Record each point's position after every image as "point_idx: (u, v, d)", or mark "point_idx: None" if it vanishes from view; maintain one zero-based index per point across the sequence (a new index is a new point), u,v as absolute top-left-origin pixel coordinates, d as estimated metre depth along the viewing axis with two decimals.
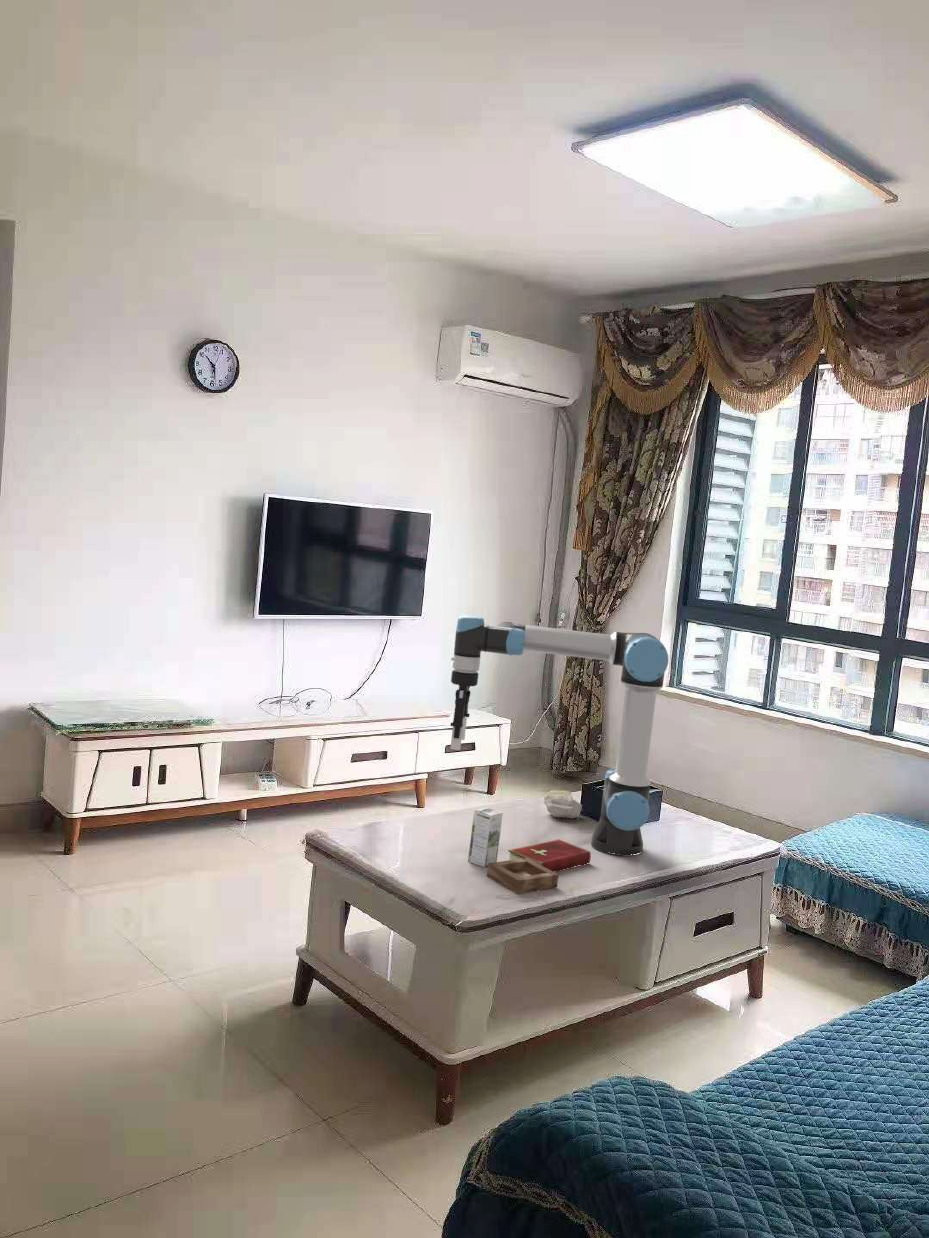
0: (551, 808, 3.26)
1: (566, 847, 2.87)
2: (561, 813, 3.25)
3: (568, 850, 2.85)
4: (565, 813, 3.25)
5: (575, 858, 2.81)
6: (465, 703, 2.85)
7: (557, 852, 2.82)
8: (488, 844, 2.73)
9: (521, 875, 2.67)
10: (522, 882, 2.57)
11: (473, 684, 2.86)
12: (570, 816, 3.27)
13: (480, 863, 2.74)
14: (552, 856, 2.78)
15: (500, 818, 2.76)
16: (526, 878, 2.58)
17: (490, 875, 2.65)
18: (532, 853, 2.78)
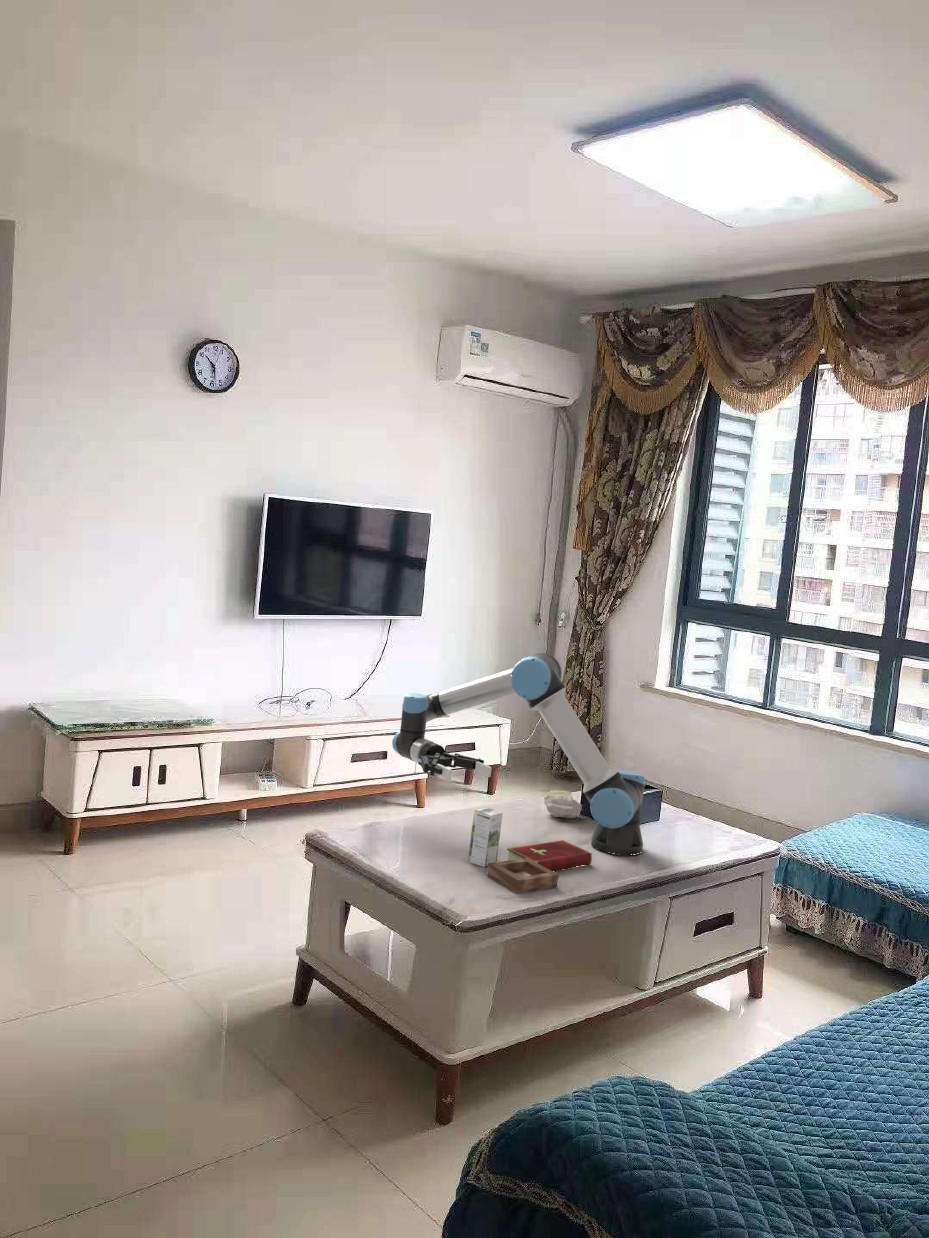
0: (551, 808, 3.26)
1: (567, 848, 2.86)
2: (561, 813, 3.25)
3: (568, 850, 2.84)
4: (565, 813, 3.25)
5: (574, 859, 2.80)
6: (433, 758, 2.90)
7: (557, 852, 2.82)
8: (488, 844, 2.73)
9: (521, 875, 2.67)
10: (522, 882, 2.57)
11: (428, 747, 2.96)
12: (570, 816, 3.27)
13: (480, 863, 2.74)
14: (550, 856, 2.78)
15: (500, 818, 2.76)
16: (526, 878, 2.58)
17: (490, 875, 2.65)
18: (531, 852, 2.79)
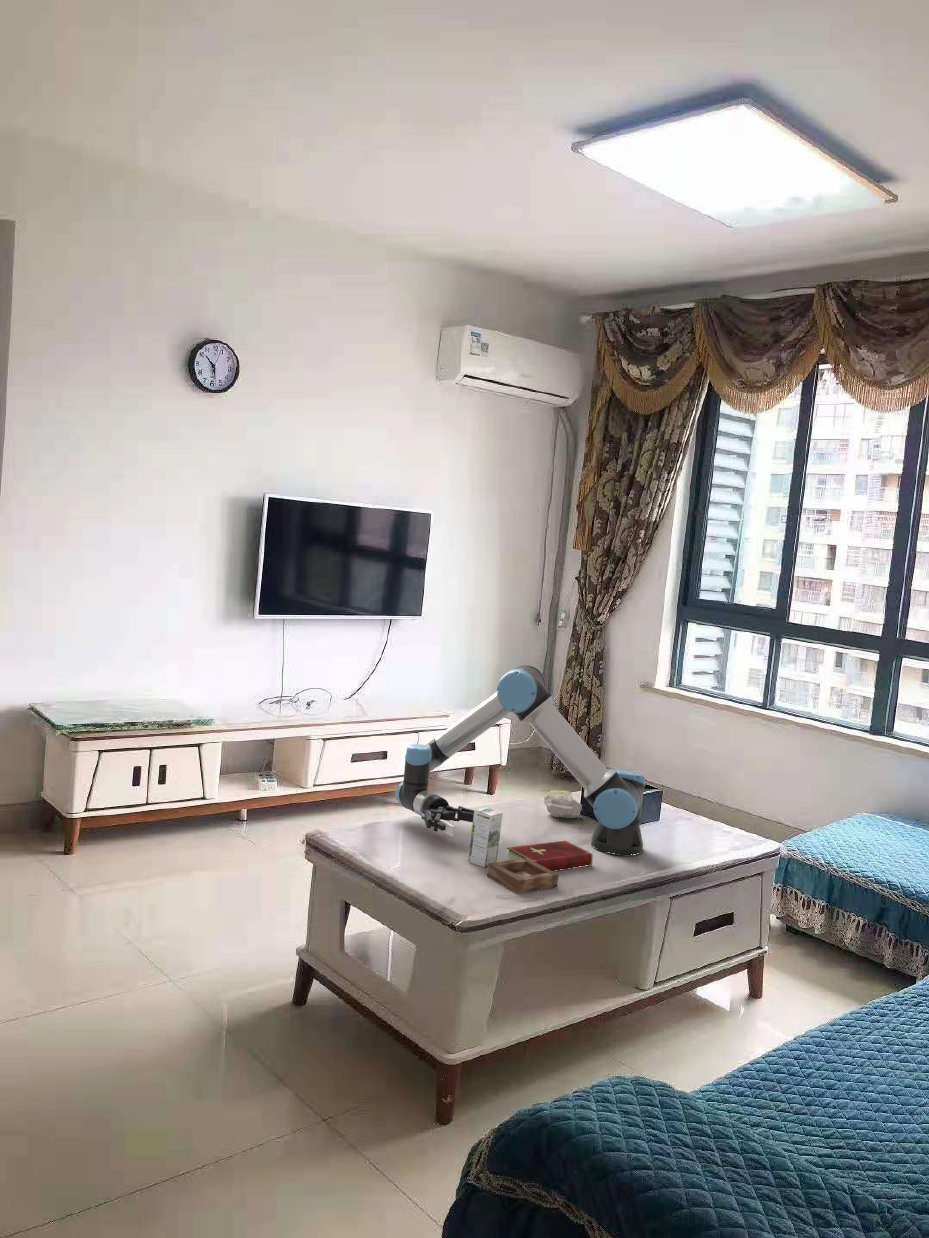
0: (551, 808, 3.26)
1: (568, 848, 2.86)
2: (561, 813, 3.25)
3: (569, 851, 2.84)
4: (565, 813, 3.25)
5: (574, 859, 2.80)
6: (437, 812, 2.88)
7: (556, 852, 2.82)
8: (488, 844, 2.73)
9: (521, 875, 2.67)
10: (522, 882, 2.57)
11: (432, 801, 2.93)
12: (570, 816, 3.27)
13: (480, 863, 2.74)
14: (549, 855, 2.78)
15: (500, 818, 2.76)
16: (526, 878, 2.58)
17: (490, 875, 2.65)
18: (530, 851, 2.80)
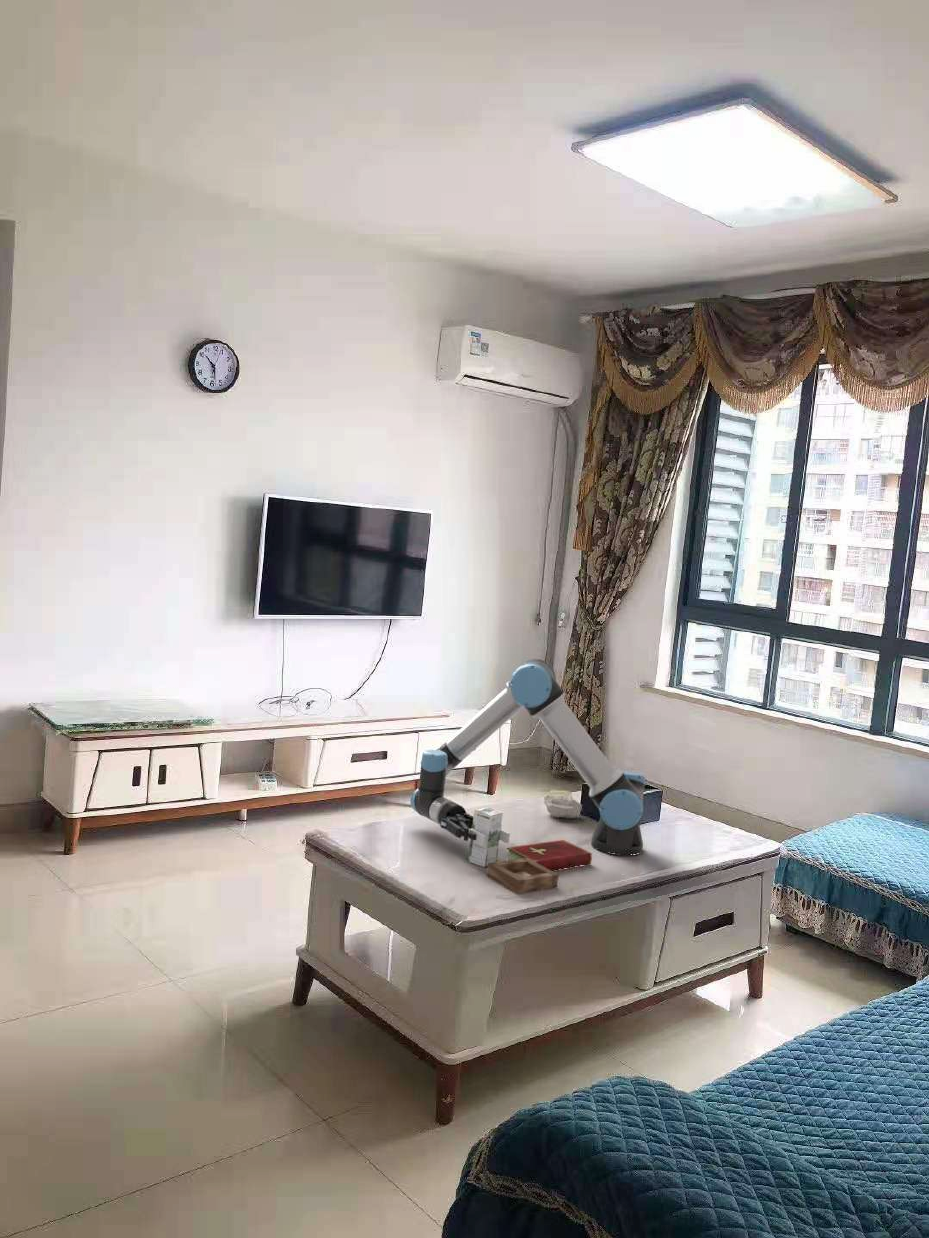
0: (551, 808, 3.26)
1: (567, 847, 2.87)
2: (561, 813, 3.25)
3: (568, 850, 2.84)
4: (565, 813, 3.25)
5: (574, 858, 2.81)
6: (458, 820, 2.81)
7: (556, 851, 2.82)
8: (488, 844, 2.73)
9: (521, 875, 2.67)
10: (522, 882, 2.57)
11: (449, 808, 2.86)
12: (570, 816, 3.27)
13: (480, 863, 2.74)
14: (549, 855, 2.78)
15: (500, 818, 2.76)
16: (526, 878, 2.58)
17: (490, 875, 2.65)
18: (530, 851, 2.80)
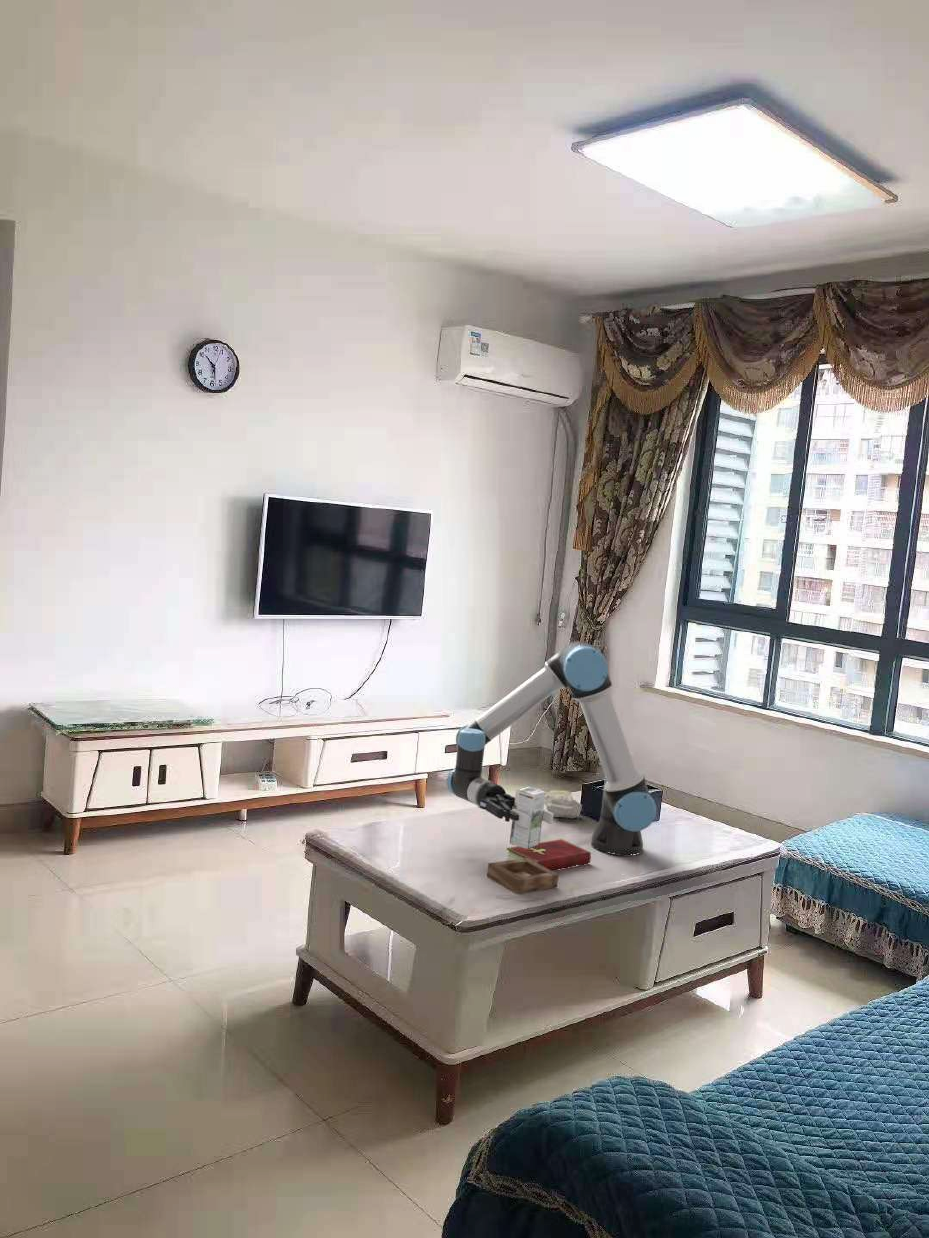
0: (551, 808, 3.26)
1: (566, 847, 2.87)
2: (561, 813, 3.25)
3: (567, 849, 2.85)
4: (565, 813, 3.25)
5: (574, 858, 2.81)
6: (499, 801, 2.69)
7: (556, 851, 2.82)
8: (531, 825, 2.61)
9: (521, 875, 2.67)
10: (522, 882, 2.57)
11: (488, 788, 2.74)
12: (570, 816, 3.27)
13: (522, 845, 2.62)
14: (550, 855, 2.78)
15: (543, 798, 2.63)
16: (526, 878, 2.58)
17: (490, 875, 2.65)
18: (530, 852, 2.80)
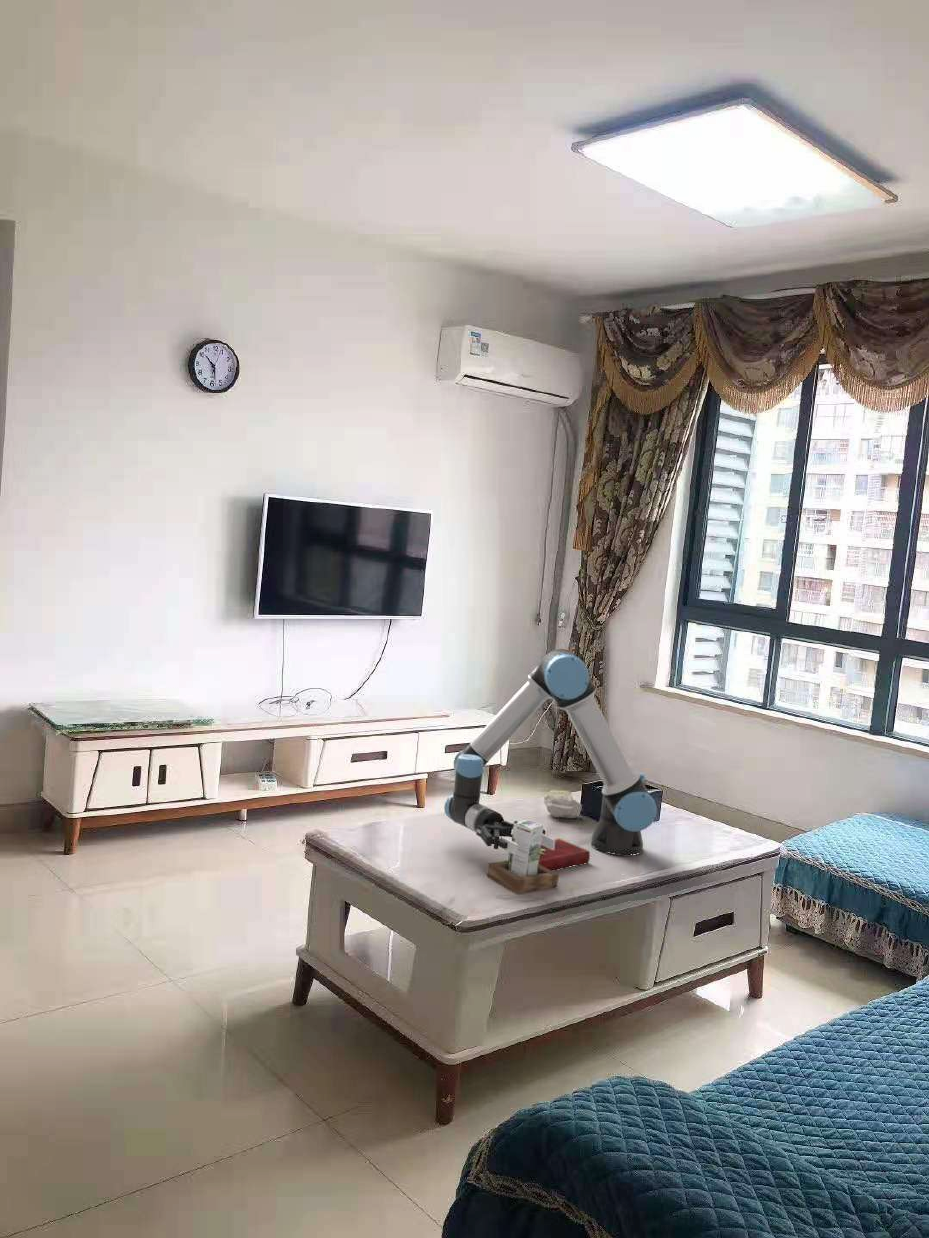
0: (551, 808, 3.26)
1: (565, 846, 2.87)
2: (561, 813, 3.25)
3: (567, 849, 2.85)
4: (565, 813, 3.25)
5: (573, 857, 2.81)
6: (494, 828, 2.69)
7: (555, 851, 2.83)
8: (529, 858, 2.61)
9: None
10: (522, 882, 2.57)
11: (486, 815, 2.74)
12: (570, 816, 3.27)
13: None
14: (550, 855, 2.78)
15: (541, 831, 2.64)
16: (526, 878, 2.58)
17: (490, 875, 2.65)
18: None
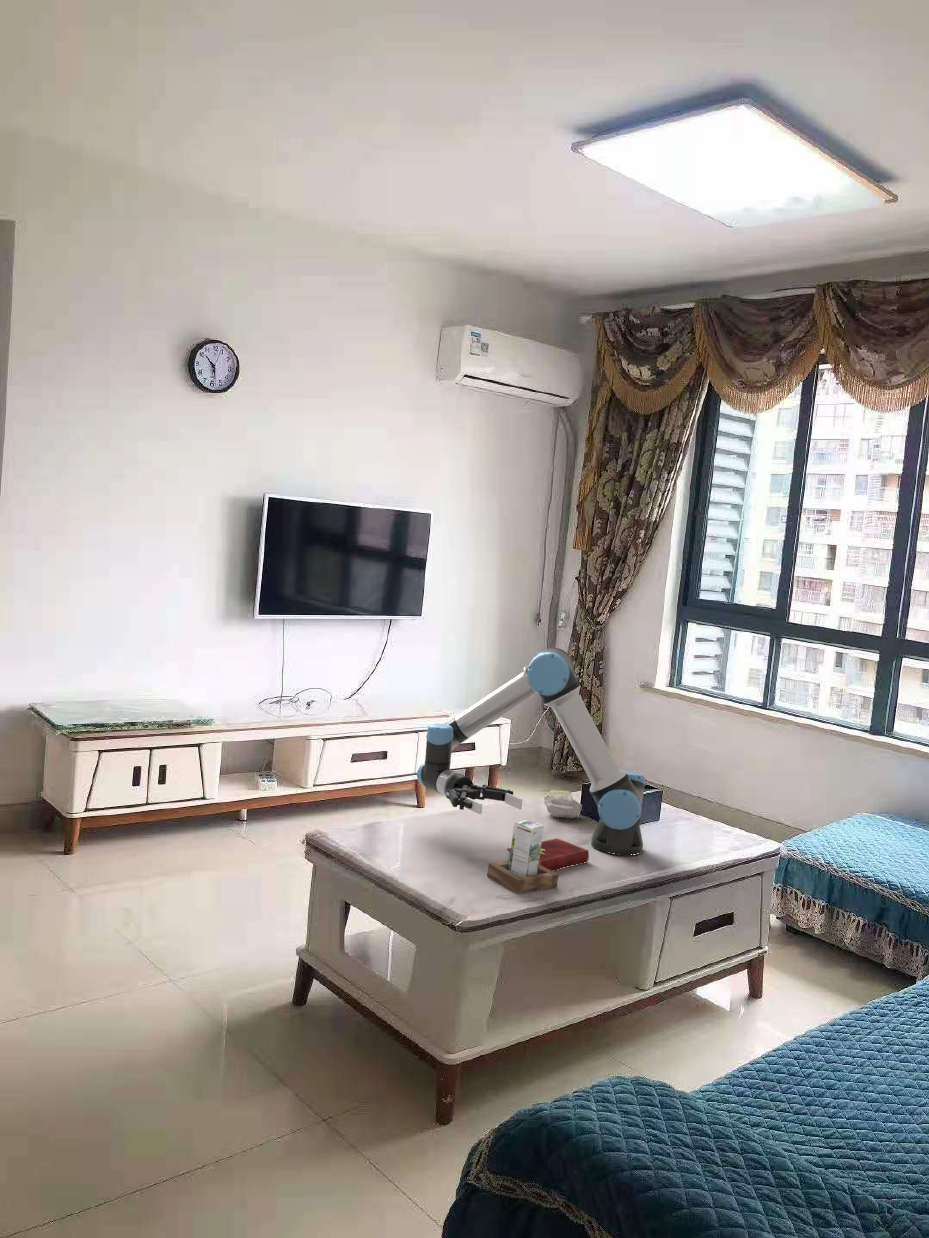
0: (551, 808, 3.26)
1: (564, 846, 2.88)
2: (561, 813, 3.25)
3: (566, 848, 2.85)
4: (565, 813, 3.25)
5: (573, 857, 2.82)
6: (462, 791, 2.82)
7: (555, 850, 2.83)
8: (529, 858, 2.61)
9: None
10: (522, 882, 2.57)
11: (456, 780, 2.87)
12: (570, 816, 3.27)
13: None
14: (550, 855, 2.79)
15: (541, 831, 2.64)
16: (526, 878, 2.58)
17: (490, 875, 2.65)
18: None
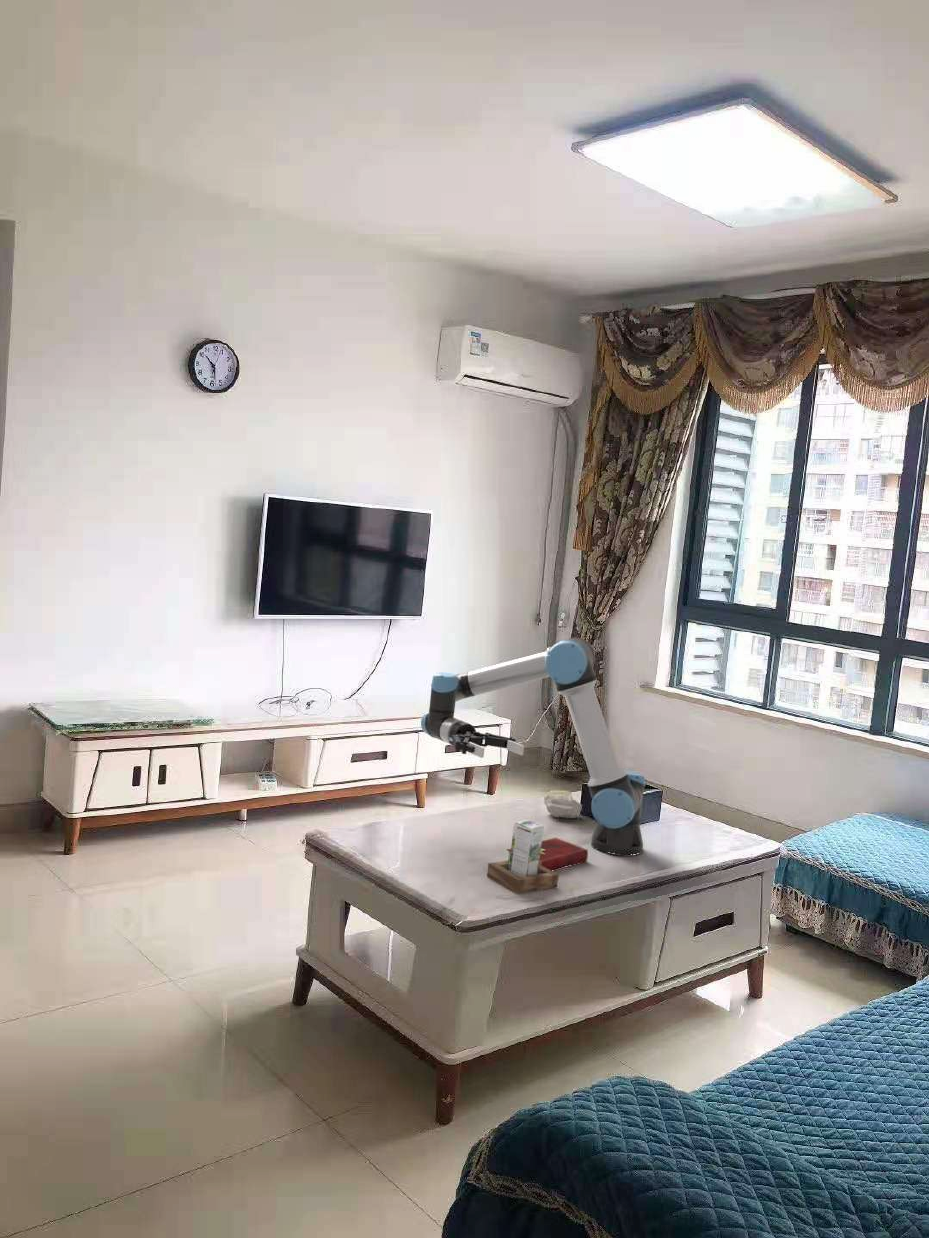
0: (551, 808, 3.26)
1: (563, 845, 2.88)
2: (561, 813, 3.25)
3: (565, 848, 2.86)
4: (565, 813, 3.25)
5: (573, 856, 2.82)
6: (465, 736, 2.86)
7: (555, 850, 2.83)
8: (529, 858, 2.61)
9: None
10: (522, 882, 2.57)
11: (459, 726, 2.91)
12: (570, 816, 3.27)
13: None
14: (550, 855, 2.79)
15: (541, 831, 2.64)
16: (526, 878, 2.58)
17: (490, 875, 2.65)
18: None
